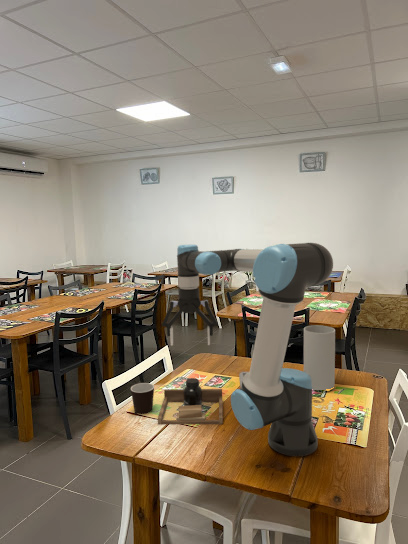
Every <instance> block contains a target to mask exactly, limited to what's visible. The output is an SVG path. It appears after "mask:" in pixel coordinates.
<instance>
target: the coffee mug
mask: <svg viewBox="0 0 408 544" xmlns="http://www.w3.org/2000/svg"><path fill="white" fill-rule="evenodd" d="M130 393H131V394H130V395H131V399H132V404H133V409H134V410H133V411H134V415H135V416H137V414H138V415H146V414H149V413H152V411H153V409H154V394H155V385H154V384H152V383H148V382H139V383H136V384H134V385H131V387H130Z"/></svg>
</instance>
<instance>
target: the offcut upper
mask: <svg viewBox="0 0 408 544" xmlns="http://www.w3.org/2000/svg"><path fill="white" fill-rule="evenodd" d="M202 409H203V407H202V408H201V405H191V406H184V405H178V413H179V418H195V417H202V413H203V412H202V411H203V410H202Z"/></svg>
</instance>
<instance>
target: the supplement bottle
mask: <svg viewBox="0 0 408 544" xmlns="http://www.w3.org/2000/svg"><path fill="white" fill-rule="evenodd" d="M201 387H202V386H200V380H199V379H198V378H195V377H192V378H191V377H190V378H188V379H186V381H185V387H184V388H183V389H184V402H183V406H191V405H201V408H202V409H203V402H202V389H203V388H201Z"/></svg>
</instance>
